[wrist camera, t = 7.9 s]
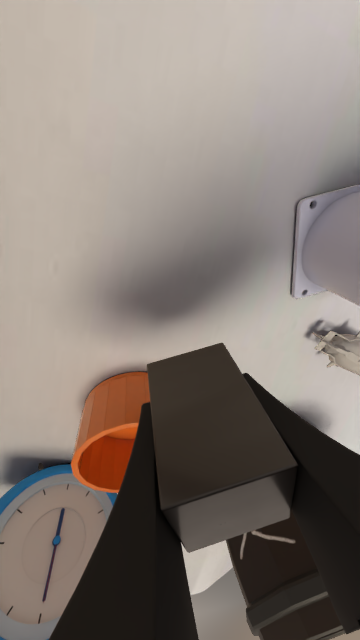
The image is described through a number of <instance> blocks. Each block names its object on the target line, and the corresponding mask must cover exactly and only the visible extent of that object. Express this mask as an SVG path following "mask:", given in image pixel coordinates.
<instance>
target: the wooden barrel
mask: <svg viewBox="0 0 360 640" xmlns="http://www.w3.org/2000/svg"><path fill="white" fill-rule="evenodd" d="M226 542H227V546H228V550H229V553H230V557H231V561H232V564H233V568H234V571H235V574H236V577H237V579H238V582H239V585H240V588H241V590H242V594H243V596H244V599H245V602H246V605H247V608H246V616H247V623H248V625H249V627H250V629H251V632H252V634H253V635H254V636H259V637H260V640H329V639H332V638H335V637H337V636H340V635H342V634H345V631H344V629H343V627H342V625H341V623H340V621H339V619H338V617H337V614H336V612H335V610H334V608H333V605H332V603H331V600H330V598H329V595H328V593H327V591H326V588H325V586H324V584H323V581H322V579H321V576H320V574H319V572H318V569H317V567H316V565H315V562H314V560H313V558H312V555H311V553H310V551H309V549H308V546H307V544H306V542H305V539H304V537H303V535H302V533H301V530H300V528H299V526H298V524H297V521H296V519H295V517H294V515H293V513H292V510H291V513H290V517H289V518H288V519H285V520H282V521H279V522H276V523H273V524H270V525H268V526H265V527H262V528H259V529H256V530H253V531H250V532H247V533H244V534H241V535H239V536H236V537H233V538H230V539H227V540H226Z"/></svg>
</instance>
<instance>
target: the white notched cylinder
mask: <svg viewBox="0 0 360 640" xmlns="http://www.w3.org/2000/svg"><path fill="white" fill-rule="evenodd" d="M312 333H313V332H312ZM313 334H314V335H315V336H317V337H318V338H319V339H321V340H322V341H321V342H320V343H319V344H318V345H317V346H316V347H315V349H316V350H319V351H320V352H322V353H324V354H326V355H328V356H329V360H330V361H331V362H330V363H329V364H328V365H327V367H331V366H333V365H334V364H335V365H336V366H340V367H342V368H344V369H346V370H349V371H351V372H353V373H356V374H358V375H360V332H359V333H358V334H357V335H350V334H343V335H340V334H338V333H335V332H333V331H330V332H329V333H328V334H327V335H326V336H323V335H320V336H319V335H317V334H315V333H313ZM335 334H336V335H338V336H334V335H335ZM323 348H325V350H326V351H327V352H324V351H322V349H323Z"/></svg>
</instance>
